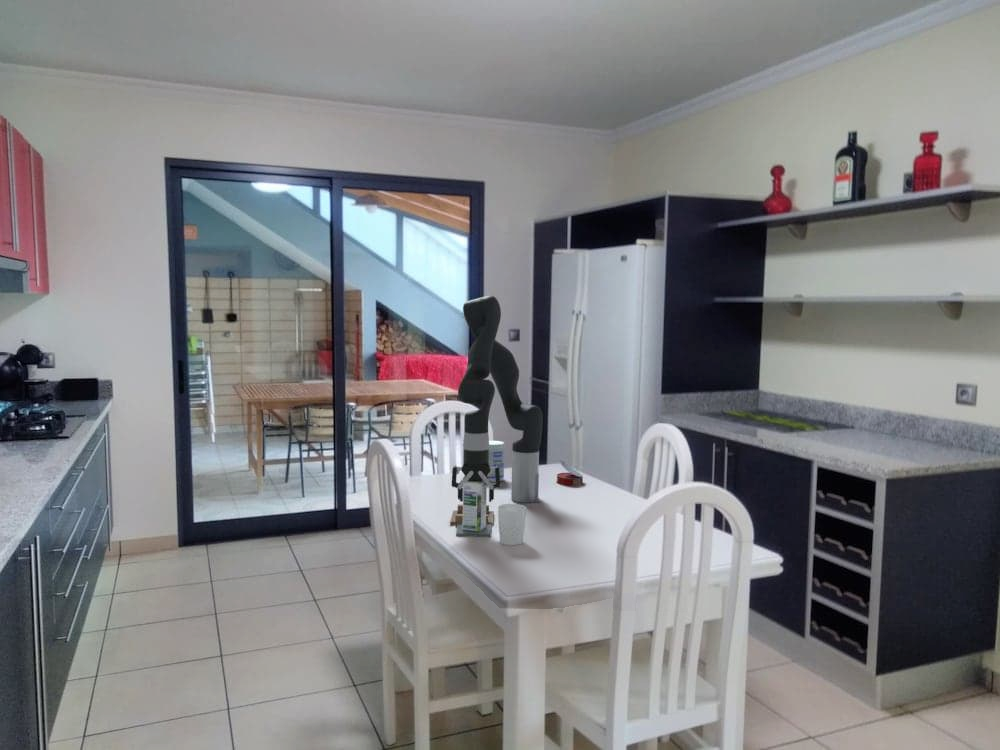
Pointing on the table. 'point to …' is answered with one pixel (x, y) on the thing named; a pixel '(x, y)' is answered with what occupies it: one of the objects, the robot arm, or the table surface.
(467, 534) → the thin grey plate
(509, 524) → the white cup
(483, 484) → the syrup box
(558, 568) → the table surface
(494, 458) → the supplement tub
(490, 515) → the wooden picture frame
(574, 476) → the canned food
